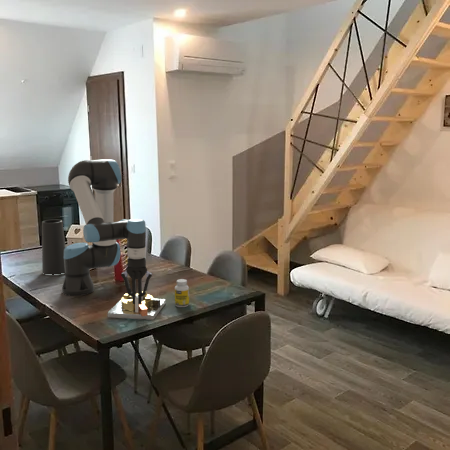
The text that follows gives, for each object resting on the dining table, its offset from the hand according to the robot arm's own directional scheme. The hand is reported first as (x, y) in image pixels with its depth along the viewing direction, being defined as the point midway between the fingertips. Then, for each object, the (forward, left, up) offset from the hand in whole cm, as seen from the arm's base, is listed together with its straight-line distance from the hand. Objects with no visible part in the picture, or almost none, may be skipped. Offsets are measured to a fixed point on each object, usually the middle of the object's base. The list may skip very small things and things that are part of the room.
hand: (137, 311), depth 216 cm
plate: (-3, +10, -3) cm, 11 cm away
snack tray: (-1, +7, -1) cm, 7 cm away
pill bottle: (+15, +19, -4) cm, 24 cm away
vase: (-66, +59, -4) cm, 89 cm away
